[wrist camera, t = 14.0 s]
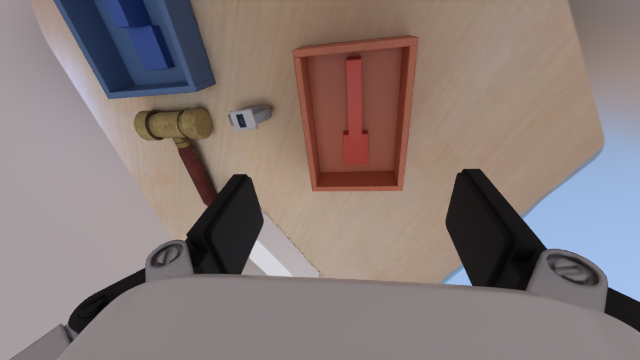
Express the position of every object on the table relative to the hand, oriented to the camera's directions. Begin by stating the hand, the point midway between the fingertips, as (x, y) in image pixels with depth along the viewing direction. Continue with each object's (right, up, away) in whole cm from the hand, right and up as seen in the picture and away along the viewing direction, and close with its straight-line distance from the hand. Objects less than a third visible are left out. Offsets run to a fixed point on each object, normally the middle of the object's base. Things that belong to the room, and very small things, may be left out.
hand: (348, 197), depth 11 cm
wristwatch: (-11, +12, +26) cm, 30 cm away
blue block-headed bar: (-25, +23, +19) cm, 39 cm away
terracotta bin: (+4, +10, +24) cm, 26 cm away
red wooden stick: (+4, +10, +23) cm, 26 cm away
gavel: (-23, +4, +32) cm, 40 cm away
